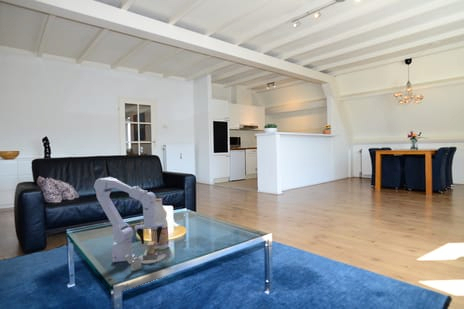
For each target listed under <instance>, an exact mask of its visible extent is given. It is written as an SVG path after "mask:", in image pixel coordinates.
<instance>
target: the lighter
mask: <svg viewBox="0 0 464 309" xmlns="http://www.w3.org/2000/svg"><path fill="white" fill-rule="evenodd" d="M138 257H139V256H138ZM138 257H137V256H134V257H133V259H131V257H130V256H129V255H128V254H127V255H126V256H125V258H126V260H127V261H126V262H127V263H128V264H129V265H130V266H131V267H130V268H131V270H130V271H132V272H134V271H138V270H140V269H141V268H142V266H141V265H142V264H141V260H140V258H138Z"/></svg>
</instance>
